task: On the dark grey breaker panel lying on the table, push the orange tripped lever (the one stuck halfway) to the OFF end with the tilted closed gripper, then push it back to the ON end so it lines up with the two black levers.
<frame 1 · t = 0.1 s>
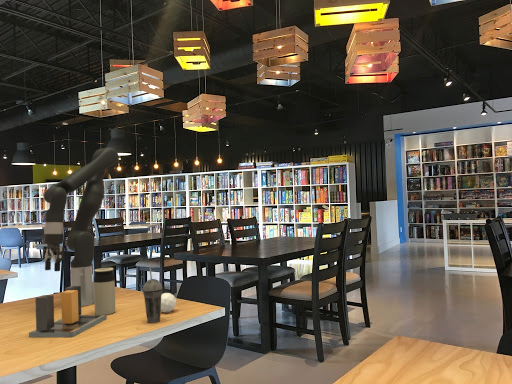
hand: (52, 270, 182), 17 cm above the table, tool pointing down, fingers open, 8 cm apart
beverage cup: (153, 321, 157), on the table
panel: (70, 327, 153), on the table
travel mug: (105, 313, 173), on the table
geometric ball: (166, 312, 170), on the table
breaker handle: (70, 306, 153), point 8 cm above the table, slide at 0.0 cm
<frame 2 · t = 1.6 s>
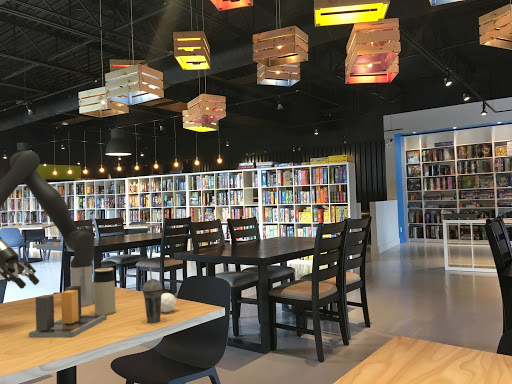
hand: (30, 284, 156), 16 cm above the table, tool tilted 45°, fingers open, 7 cm apart
nothing on the table moved.
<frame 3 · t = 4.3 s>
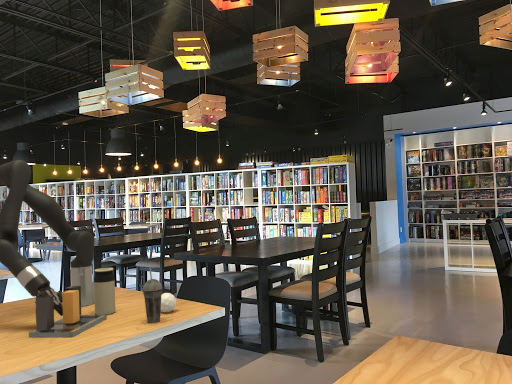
hand: (64, 313, 154), 5 cm above the table, tool tilted 45°, fingers closed
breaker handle: (71, 306, 153), point 8 cm above the table, slide at 0.4 cm, touching gripper
everything else where it was.
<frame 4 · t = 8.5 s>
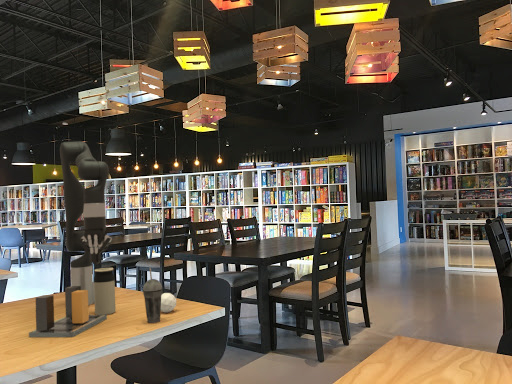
hand: (96, 263, 152), 23 cm above the table, tool pointing down, fingers closed
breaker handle: (80, 306, 153), point 8 cm above the table, slide at 4.0 cm
everything else where it was.
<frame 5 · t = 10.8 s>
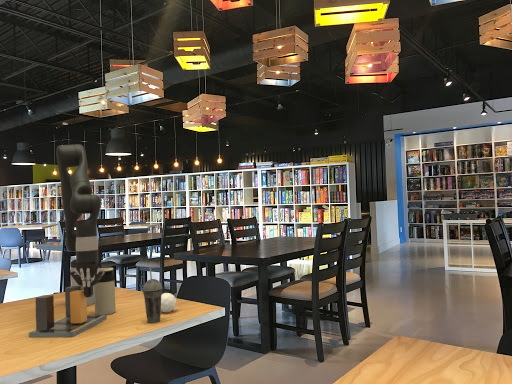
hand: (88, 296, 153), 11 cm above the table, tool pointing down, fingers closed
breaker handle: (78, 306, 153), point 8 cm above the table, slide at 3.4 cm, touching gripper
everything else where it was.
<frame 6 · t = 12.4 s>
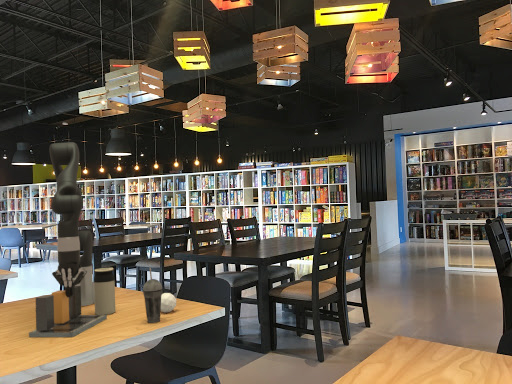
hand: (70, 296, 154), 11 cm above the table, tool pointing down, fingers closed
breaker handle: (60, 306, 154), point 8 cm above the table, slide at -3.8 cm, touching gripper
everything else where it was.
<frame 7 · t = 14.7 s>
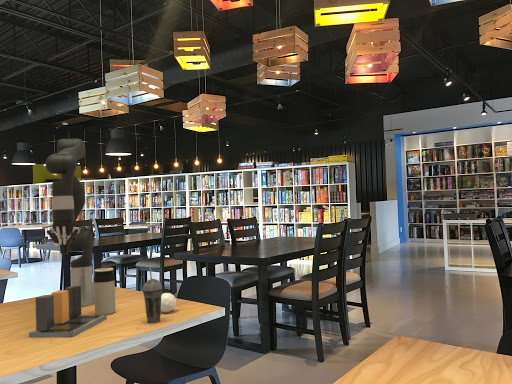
hand: (64, 254, 158), 26 cm above the table, tool pointing down, fingers closed
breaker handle: (60, 306, 154), point 8 cm above the table, slide at -3.8 cm
everything else where it was.
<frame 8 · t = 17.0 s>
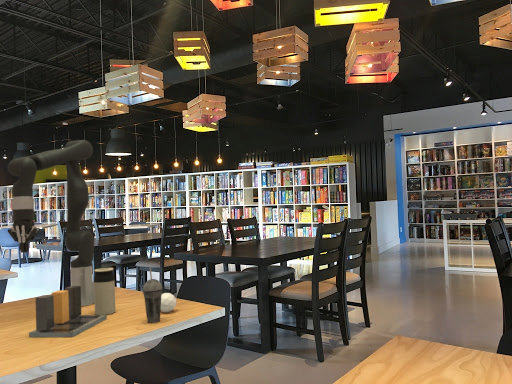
hand: (24, 252, 166), 27 cm above the table, tool pointing down, fingers closed
nothing on the table moved.
at the end: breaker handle slide at -3.8 cm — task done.
